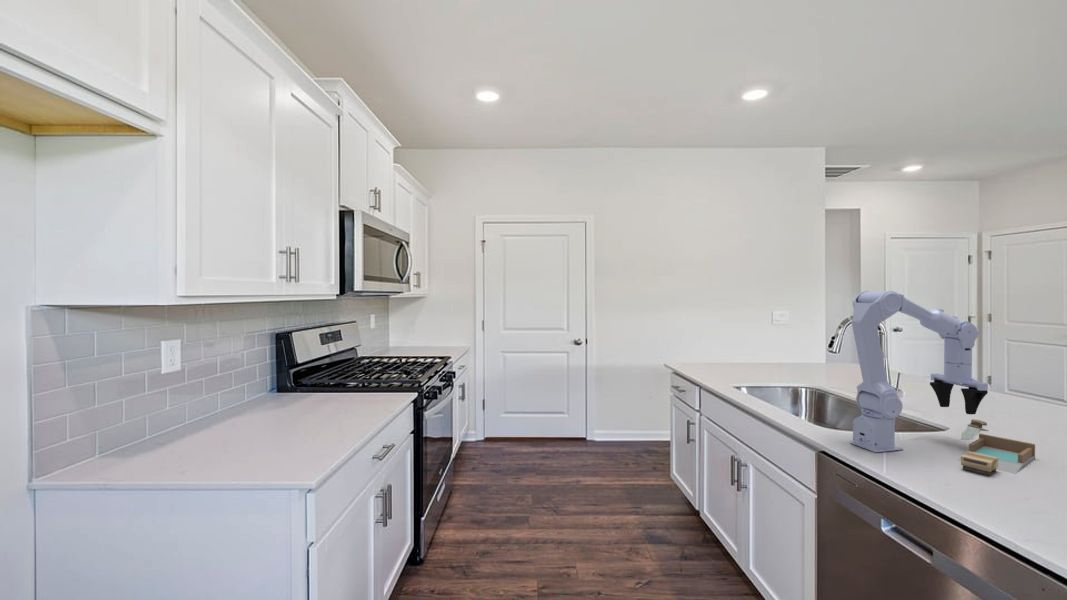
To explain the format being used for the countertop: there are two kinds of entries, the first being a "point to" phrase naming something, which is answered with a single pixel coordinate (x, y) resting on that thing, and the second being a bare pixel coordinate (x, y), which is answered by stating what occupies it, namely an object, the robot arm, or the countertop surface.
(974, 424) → the knife
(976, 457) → the tan cardboard box
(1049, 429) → the countertop surface
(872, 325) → the robot arm
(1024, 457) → the dock
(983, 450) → the bay pad
